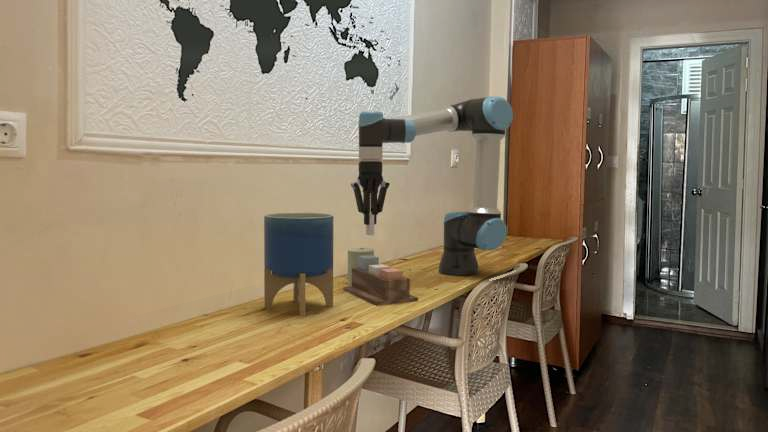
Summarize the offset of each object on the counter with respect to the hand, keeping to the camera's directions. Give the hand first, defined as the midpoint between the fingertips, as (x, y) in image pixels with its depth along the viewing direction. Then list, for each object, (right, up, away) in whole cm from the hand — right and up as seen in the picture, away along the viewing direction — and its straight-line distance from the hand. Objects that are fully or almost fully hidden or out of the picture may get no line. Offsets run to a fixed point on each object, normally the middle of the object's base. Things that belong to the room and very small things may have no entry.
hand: (370, 234), depth 196 cm
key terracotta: (+7, -17, -12) cm, 22 cm away
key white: (+3, -16, -5) cm, 17 cm away
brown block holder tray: (+3, -19, -5) cm, 20 cm away
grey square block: (-1, -14, +2) cm, 14 cm away
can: (-4, -17, +14) cm, 23 cm away
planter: (-20, -20, -22) cm, 36 cm away
